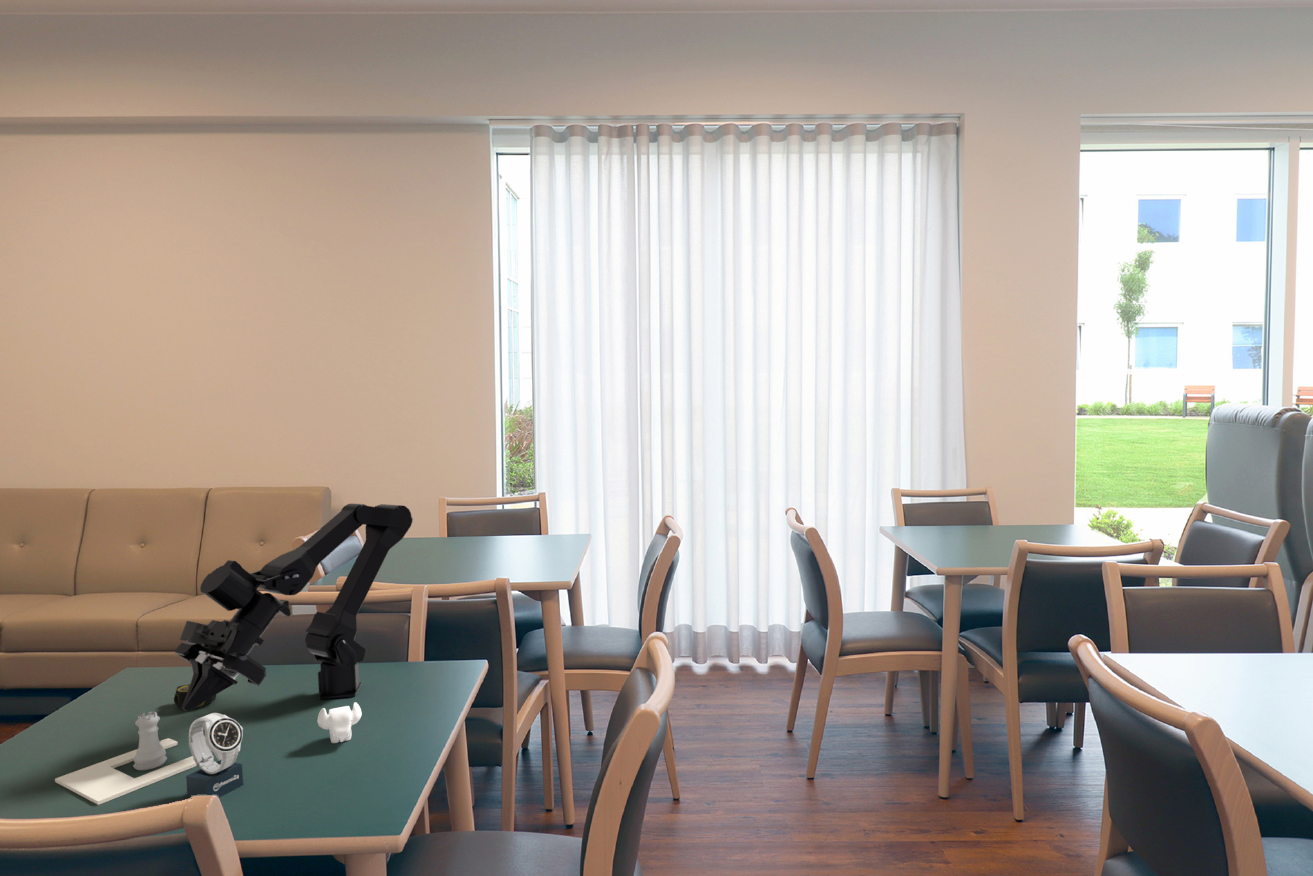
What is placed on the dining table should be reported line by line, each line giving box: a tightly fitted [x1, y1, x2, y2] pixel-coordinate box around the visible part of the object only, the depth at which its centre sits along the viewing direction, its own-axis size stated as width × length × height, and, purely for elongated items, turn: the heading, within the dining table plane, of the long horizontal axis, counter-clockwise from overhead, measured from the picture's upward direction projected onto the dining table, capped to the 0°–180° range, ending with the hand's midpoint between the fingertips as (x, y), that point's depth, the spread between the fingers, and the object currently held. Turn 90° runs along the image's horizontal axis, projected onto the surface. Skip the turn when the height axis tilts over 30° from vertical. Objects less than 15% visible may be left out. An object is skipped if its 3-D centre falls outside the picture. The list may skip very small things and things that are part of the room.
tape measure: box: [173, 683, 218, 709], centre depth 146 cm, size 7×7×4 cm
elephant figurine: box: [317, 702, 363, 744], centre depth 128 cm, size 7×8×6 cm
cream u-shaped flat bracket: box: [54, 737, 215, 806], centre depth 120 cm, size 16×14×1 cm
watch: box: [185, 712, 244, 798], centre depth 112 cm, size 6×8×11 cm
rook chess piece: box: [133, 711, 168, 772], centre depth 121 cm, size 4×4×8 cm
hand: (184, 710), depth 126 cm, fingers closed
